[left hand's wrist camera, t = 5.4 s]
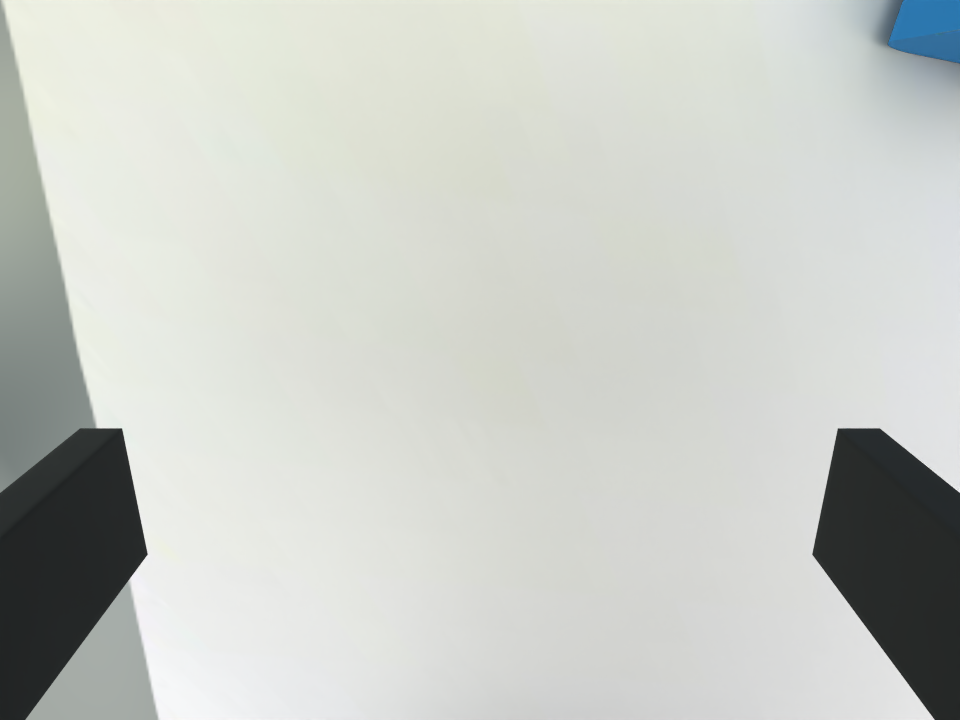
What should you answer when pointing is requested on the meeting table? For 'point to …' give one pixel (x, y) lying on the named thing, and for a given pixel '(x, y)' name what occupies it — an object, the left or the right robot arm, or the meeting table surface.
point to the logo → (928, 29)
